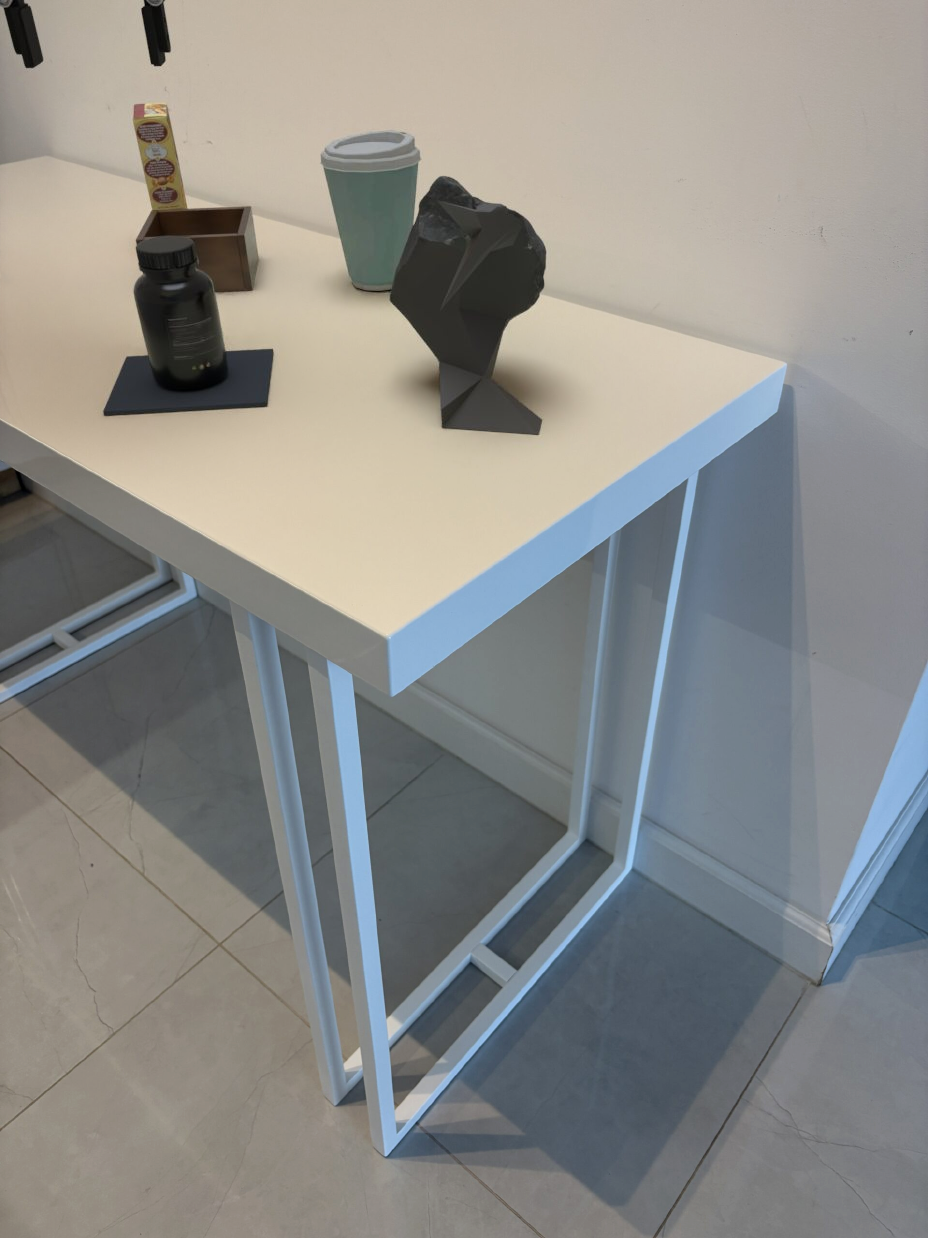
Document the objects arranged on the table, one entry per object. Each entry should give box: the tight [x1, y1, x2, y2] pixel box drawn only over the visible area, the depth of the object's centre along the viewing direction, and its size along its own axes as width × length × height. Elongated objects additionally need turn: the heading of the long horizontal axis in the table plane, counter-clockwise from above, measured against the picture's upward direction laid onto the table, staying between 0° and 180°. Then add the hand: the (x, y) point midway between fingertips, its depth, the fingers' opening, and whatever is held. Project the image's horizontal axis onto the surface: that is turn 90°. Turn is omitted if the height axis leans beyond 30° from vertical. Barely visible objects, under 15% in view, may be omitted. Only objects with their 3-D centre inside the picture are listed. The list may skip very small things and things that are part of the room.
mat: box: [102, 348, 274, 416], centre depth 86 cm, size 14×12×1 cm
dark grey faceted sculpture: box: [389, 175, 547, 435], centre depth 79 cm, size 14×15×18 cm
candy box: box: [132, 102, 188, 211], centre depth 114 cm, size 9×4×15 cm, turn 15°
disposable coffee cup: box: [320, 129, 422, 292], centre depth 102 cm, size 11×11×15 cm
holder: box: [135, 205, 260, 293], centre depth 107 cm, size 12×12×6 cm
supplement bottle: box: [132, 236, 228, 392], centre depth 82 cm, size 7×7×12 cm
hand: (97, 64), depth 74 cm, fingers open, 9 cm apart
